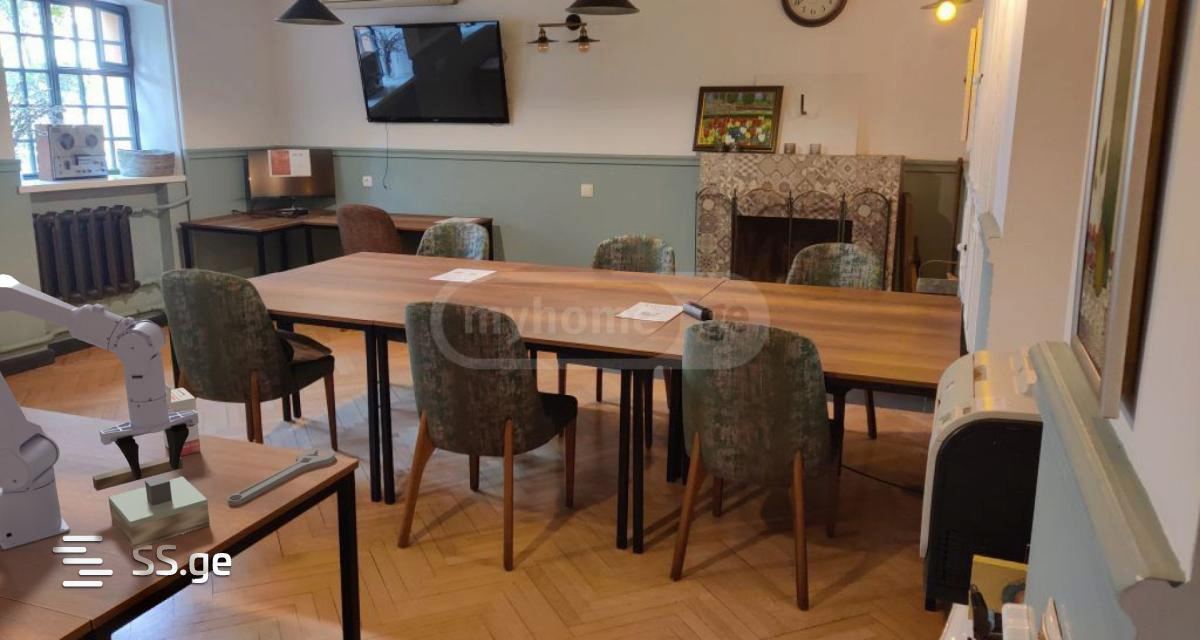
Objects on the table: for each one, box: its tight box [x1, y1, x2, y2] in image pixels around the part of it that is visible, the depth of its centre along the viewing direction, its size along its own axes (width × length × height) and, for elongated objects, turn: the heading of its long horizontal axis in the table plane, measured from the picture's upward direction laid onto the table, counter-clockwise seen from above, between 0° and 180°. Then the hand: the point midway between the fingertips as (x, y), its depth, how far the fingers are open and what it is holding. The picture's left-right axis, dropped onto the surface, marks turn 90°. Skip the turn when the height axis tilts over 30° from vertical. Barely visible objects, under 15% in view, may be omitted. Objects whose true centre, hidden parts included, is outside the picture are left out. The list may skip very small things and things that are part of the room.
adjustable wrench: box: [227, 448, 336, 507], centre depth 167 cm, size 25×6×2 cm, turn 150°
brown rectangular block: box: [92, 456, 184, 492], centre depth 153 cm, size 14×2×2 cm, turn 133°
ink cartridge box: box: [162, 382, 201, 457], centre depth 177 cm, size 9×5×15 cm, turn 42°
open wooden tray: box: [108, 501, 211, 550], centre depth 148 cm, size 12×12×4 cm
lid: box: [107, 474, 209, 527], centre depth 146 cm, size 12×12×6 cm
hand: (156, 472), depth 145 cm, fingers open, 5 cm apart
